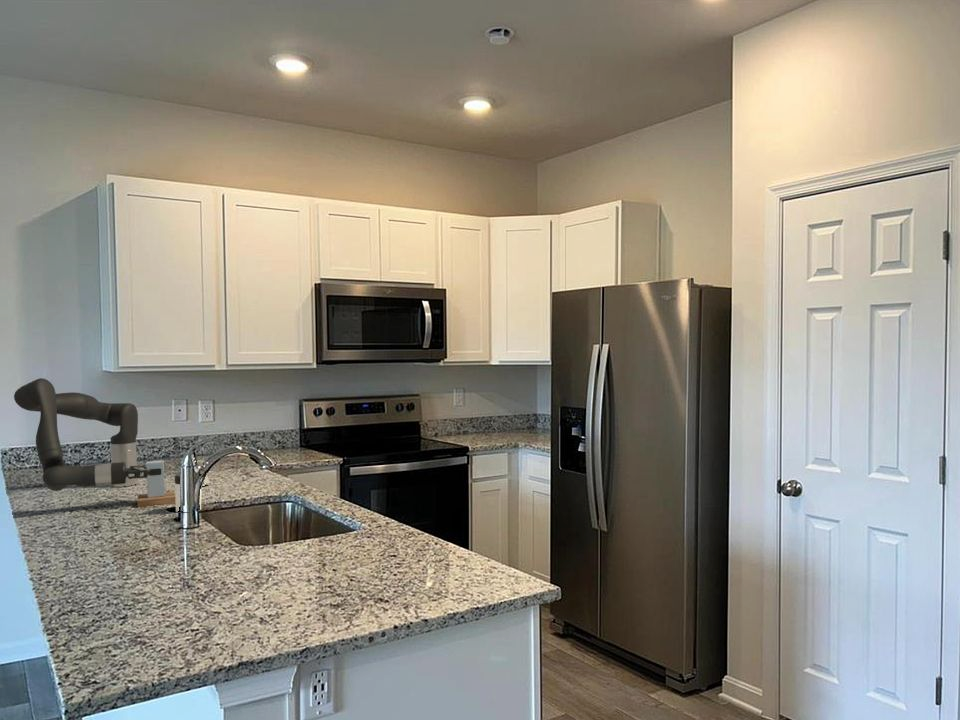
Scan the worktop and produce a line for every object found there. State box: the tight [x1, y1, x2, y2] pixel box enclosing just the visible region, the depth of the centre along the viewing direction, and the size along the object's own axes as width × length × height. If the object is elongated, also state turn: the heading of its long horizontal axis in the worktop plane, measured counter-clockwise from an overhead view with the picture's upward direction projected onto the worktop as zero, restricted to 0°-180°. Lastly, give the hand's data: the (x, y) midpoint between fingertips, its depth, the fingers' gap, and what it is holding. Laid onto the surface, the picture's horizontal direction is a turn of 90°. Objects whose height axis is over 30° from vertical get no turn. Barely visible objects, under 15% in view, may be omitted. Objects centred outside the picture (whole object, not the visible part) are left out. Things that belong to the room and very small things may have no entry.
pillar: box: [145, 459, 166, 498], centre depth 255 cm, size 6×6×12 cm
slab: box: [137, 490, 176, 508], centre depth 255 cm, size 12×12×3 cm
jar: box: [174, 473, 202, 513], centre depth 241 cm, size 9×8×12 cm
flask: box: [196, 459, 211, 484], centre depth 285 cm, size 7×7×10 cm
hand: (161, 469), depth 255 cm, fingers open, 8 cm apart
